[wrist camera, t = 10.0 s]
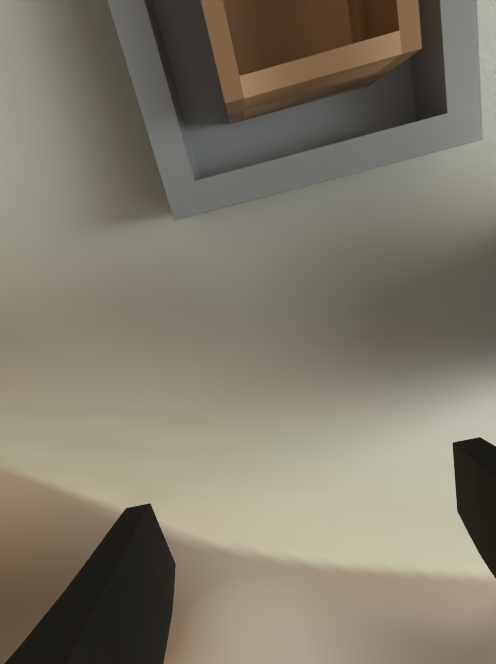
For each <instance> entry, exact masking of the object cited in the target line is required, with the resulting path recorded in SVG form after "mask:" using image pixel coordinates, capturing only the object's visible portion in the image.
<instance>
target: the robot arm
mask: <svg viewBox="0 0 496 664" xmlns="http://www.w3.org/2000/svg"><path fill="white" fill-rule="evenodd" d="M453 455H454V469H455V483H456V497H457V511H458V513H459V515H460V517H461V519H462V521H463V523H464V525H465V527H466V529H467V531H468V533H469V535H470V537H471V538H472V540H473V542H474V544H475V546H476V548H477V550H478V552H479V553H480V555H481V557H482V558H483V560H484V561H485V563H486V565H487V566H488V568H489V569H490V571H491V572H492V574H493V575H494V577H495V578H496V446H494V445H492V444H491V443H489V442H487V441H485V440H484V439H482V438H480V437H479V438H474V439H469V440H464V441H459V442H454V443H453ZM174 582H175V562H174V560H173V557H172V555H171V552H170V550H169V548H168V545H167V543H166V540H165V538H164V535H163V533H162V531H161V528H160V526H159V523H158V521H157V518H156V516H155V514H154V511H153V509H152V506H151V504H145V505H140V506H135V507H130V508H126V509H125V511H124V512H123V513H122V514H121V516H120V517H119V518H118V520H117V521H116V523H115V524H114V525H113V526H112V528H111V529H110V531H109V532H108V533H107V535H106V536H105V537H104V539H103V540H102V542H101V543H100V544H99V546H98V547H97V548H96V550H95V551H94V552H93V554H92V555H91V556H90V558H89V559H88V560H87V562H86V563H85V565H84V566H83V567H82V568H81V570H80V571H79V573H78V574H77V575H76V576H75V578H74V579H73V580H72V582H71V583H70V585H69V586H68V587H67V588H66V590H65V591H64V592H63V594H62V595H61V596H60V597H59V599H58V600H57V601H56V602H55V604H54V605H53V606H52V607H51V608H50V610H49V611H48V612H47V613H46V615H45V616H44V617H43V618H42V620H41V621H40V622H39V623H38V624H37V626H36V627H35V628H34V629H33V631H32V632H31V633H30V635H29V636H28V637H27V638H26V640H25V641H24V642H23V643H22V644H21V645H20V646H19V648H18V649H17V650H16V651H15V652H14V653H13V655H12V656H11V657H10V658H9V659H8V660H7V661H6V663H5V664H163V662H164V656H165V651H166V645H167V640H168V634H169V628H170V622H171V616H172V608H173V596H174Z"/></svg>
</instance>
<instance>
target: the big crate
mask: <svg viewBox="0 0 496 664" xmlns="http://www.w3.org/2000/svg"><path fill="white" fill-rule="evenodd" d="M107 2H108V5H109V9H110V12H111V15H112V18H113V22H114V25H115V28H116V32H117V35H118V38H119V41H120V45H121V48H122V51H123V55H124V58H125V61H126V64H127V68H128V71H129V74H130V78H131V81H132V84H133V87H134V91H135V94H136V97H137V101H138V104H139V107H140V110H141V114H142V117H143V120H144V124H145V127H146V130H147V133H148V137H149V140H150V143H151V147H152V150H153V153H154V156H155V160H156V163H157V166H158V170H159V173H160V176H161V179H162V183H163V186H164V189H165V193H166V196H167V199H168V202H169V206H170V209H171V212H172V216H173V219H174V220H177V219H181V218H185V217H189V216H193V215H196V214H200V213H204V212H208V211H212V210H216V209H219V208H223V207H227V206H231V205H235V204H238V203H242V202H246V201H250V200H254V199H258V198H261V197H265V196H269V195H273V194H277V193H280V192H284V191H288V190H292V189H296V188H300V187H303V186H307V185H311V184H315V183H319V182H322V181H326V180H330V179H334V178H338V177H342V176H345V175H349V174H353V173H357V172H361V171H364V170H368V169H372V168H376V167H380V166H384V165H387V164H391V163H395V162H399V161H403V160H406V159H410V158H414V157H418V156H422V155H426V154H429V153H433V152H437V151H441V150H445V149H448V148H452V147H456V146H460V145H464V144H468V143H471V142H475V141H479V140H482V119H481V95H480V70H479V45H478V20H477V0H418V4H419V16H420V29H421V41H422V49H421V50H419V51H418V52H416V53H415V54H413V55H412V56H411V57H409V58H408V59H406V60H405V61H404V62H402V63H401V64H399V65H398V66H396V67H395V68H394V69H392V70H391V71H389V72H388V73H387V74H385V75H384V76H382V77H381V78H380V79H378V80H377V81H375V82H374V83H372V84H371V85H370V86H367V87H363V88H359V89H356V90H352V91H349V92H345V93H341V94H338V95H334V96H331V97H327V98H323V99H320V100H316V101H312V102H309V103H305V104H302V105H298V106H294V107H291V108H287V109H284V110H280V111H276V112H273V113H269V114H265V115H262V116H258V117H255V118H251V119H247V120H244V121H240V122H237V123H233V124H230V122H229V118H228V113H227V109H226V105H225V101H224V96H223V92H222V88H221V84H220V80H219V75H218V71H217V67H216V63H215V58H214V54H213V50H212V46H211V42H210V37H209V33H208V29H207V25H206V21H205V16H204V12H203V8H202V4H201V0H107Z"/></svg>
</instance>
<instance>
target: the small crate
mask: <svg viewBox="0 0 496 664" xmlns="http://www.w3.org/2000/svg"><path fill="white" fill-rule="evenodd" d="M201 4H202V8H203V12H204V16H205V21H206V25H207V29H208V33H209V37H210V42H211V46H212V50H213V54H214V58H215V63H216V67H217V71H218V75H219V80H220V84H221V88H222V92H223V96H224V101H225V105H226V109H227V113H228V118H229V122H230V124H233V123H237V122H240V121H244V120H247V119H251V118H255V117H258V116H262V115H265V114H269V113H273V112H276V111H280V110H284V109H287V108H291V107H294V106H298V105H302V104H305V103H309V102H312V101H316V100H320V99H323V98H327V97H331V96H334V95H338V94H341V93H345V92H349V91H352V90H356V89H359V88H363V87H367V86H370V85H371V84H372V83H374V82H375V81H377V80H378V79H380V78H381V77H382V76H384V75H385V74H387V73H388V72H389V71H391V70H392V69H394V68H395V67H396V66H398V65H399V64H401V63H402V62H404V61H405V60H406V59H408V58H409V57H411V56H412V55H413V54H415V53H416V52H418V51H419V50H421V49H422V41H421V29H420V16H419V4H418V0H201Z"/></svg>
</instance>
